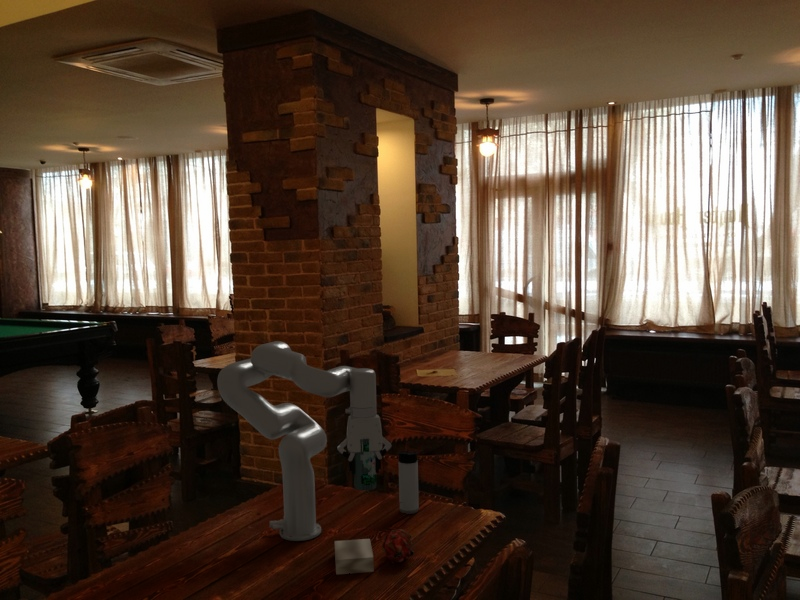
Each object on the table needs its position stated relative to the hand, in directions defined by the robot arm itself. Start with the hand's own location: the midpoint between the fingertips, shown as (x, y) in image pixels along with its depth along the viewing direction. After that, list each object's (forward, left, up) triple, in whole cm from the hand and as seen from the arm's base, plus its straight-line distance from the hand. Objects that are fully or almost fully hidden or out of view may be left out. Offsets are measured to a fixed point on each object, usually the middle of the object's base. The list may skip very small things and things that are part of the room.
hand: (365, 471), depth 202 cm
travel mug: (+16, +23, -22) cm, 35 cm away
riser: (-4, -12, -22) cm, 25 cm away
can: (0, 0, -5) cm, 5 cm away
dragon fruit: (+8, -12, -22) cm, 26 cm away
